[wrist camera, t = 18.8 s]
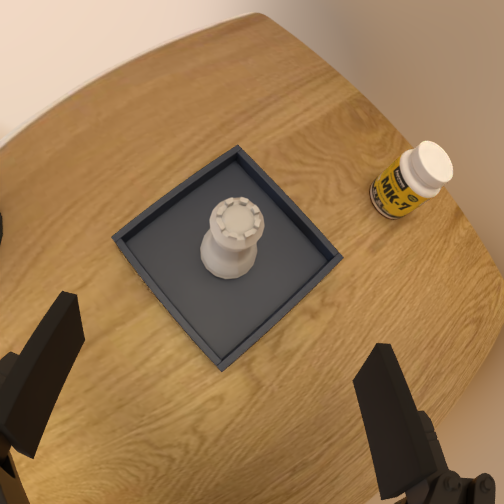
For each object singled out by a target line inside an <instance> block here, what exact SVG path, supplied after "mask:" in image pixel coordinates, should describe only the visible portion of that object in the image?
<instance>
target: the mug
mask: <svg viewBox="0 0 504 504" xmlns="http://www.w3.org/2000/svg"><path fill="white" fill-rule="evenodd" d="M2 234H3V233H2V216H1V213H0V243H1V239H2Z"/></svg>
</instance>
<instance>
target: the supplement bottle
mask: <svg viewBox="0 0 504 504" xmlns="http://www.w3.org/2000/svg"><path fill="white" fill-rule="evenodd" d="M452 176H453V167H452V163H451V161H450V159H449V157H448V155H447V154H446V152H445V151H444V150H443V149H442V148H441V147H440V146H439V145H437V144H436V143H434V142H431V141H423V142H421V143H420V144H419V145H418V146H417V147H415V148H414V149H410V150H407V151H405V152H404V153H403V154H402V155H401V156H400V157H398V158H397V159H396V160H395V161H394V162H393V163H392V164H391V165H390V166H389V167H388V168H387V169H386V170H385V171H384V172H383V173H381V174H380V175H379V176H378V177H377V178H376V179H375V180H374V181H373V183H372V185H371V189H370V195H371V199H372V202H373V204H374V206H375V207H376V209H377V210H378V211H379V212H380V213H381V214H383V215H384V216H386V217H388V218H391V219H398V218H401V217H403V216H405V215H406V214H408V213H409V212H411V211H413V210H414V209H416V208H417V207H419V206H420V205H422V204H424V203H425V202H427V201H428V200H430V199H431V198H433V197H434V196H436V195H437V194H438V193H439V191H440V189H441V187H442V186H444V185H445V184H446V183H447V182H449V181H450V180H451V178H452Z"/></svg>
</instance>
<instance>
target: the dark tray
mask: <svg viewBox="0 0 504 504" xmlns="http://www.w3.org/2000/svg"><path fill="white" fill-rule="evenodd" d="M241 197H243V198H247V199H249V201H251V202H252V203H253V204H254V205H256V206H257V207H258V208H259V210H260V212H261V213H262V215H263V219H264V230H263V233H262V236H261V237H260V239H259V240H258V241H257V242H256V244H257V255H256V258H255V262H254V265H253V266H252V267H251V268H250V270H249V271H248V272H247V273H246V274H244V275H242V276H240V277H238V278H232V279H224V278H221V277H217V276H215V275H213V274H212V273H211V272H210V271H209V270H207V269H206V267H205V265H204V263H203V261H202V260H201V251H200V247H201V244H202V241H203V238H204V235H205V234H206V233H207V232H208V230H209V229H210V217H211V214H212V211H213V209H214V208H215V207H216V206H217V205H218V204H219V203H220V202H222V201H224V200H226V199H229V198H241ZM111 238H112V239H113V240H114V242H115V243H116V245H117V246H118V247H119V249H120V250H121V251H122V253H123V254H124V255H125V257H126V258H127V259H128V261H129V262H130V263H131V265H132V266H133V267H134V269H135V270H136V271H137V273H138V274H139V275H140V277H141V278H142V279H143V280H144V282H145V283H146V284H147V286H148V287H149V288H150V289H151V291H152V292H153V293H154V294H155V296H156V297H157V298H158V299H159V301H160V302H161V303H162V304H163V305H164V307H165V308H166V309H167V310H168V312H169V313H170V314H171V315H172V316H173V318H174V319H175V320H176V321H177V322H178V323H179V325H180V326H181V327H182V328H183V329H184V330H185V332H186V333H187V334H188V335H189V336H190V337H191V339H192V340H193V341H194V342H195V343H196V344H197V345H198V347H199V348H200V349H201V350H202V351H203V352H204V353H205V354H206V355H207V357H208V358H209V359H210V360H211V361H212V362H213V363H214V364H215V365H216V366H217V368H218V369H219V370H220V371H221V372H223V371H224V370H225V369H226V368H227V367H228V366H230V365H231V364H232V363H233V362H234V361H235V360H236V359H238V358H239V357H240V356H241V355H242V354H243V353H244V352H245V351H247V350H248V349H249V348H250V347H251V346H252V345H253V344H254V343H256V342H257V341H258V340H259V339H260V338H261V337H262V336H263V335H264V334H265V333H267V332H268V331H269V330H270V329H271V328H272V327H273V326H274V325H275V324H276V323H277V322H278V321H279V320H281V319H282V318H283V317H284V316H285V315H286V314H287V313H288V312H289V311H290V310H291V309H292V308H293V307H294V306H295V305H296V304H297V303H298V302H300V301H301V300H302V299H303V298H304V297H305V296H306V295H307V294H308V293H309V292H310V291H311V290H312V289H313V288H314V287H315V286H316V285H317V284H318V283H319V282H320V281H321V280H322V279H323V278H324V277H325V276H326V275H327V274H328V273H329V272H330V271H331V270H332V269H333V268H334V267H335V266H336V265H337V264H338V263H339V262H340V261H341V260H342V259H343V258H344V257H343V256H342V255H341V254H340V253H338V251H337V249H336V248H335V247H334V246H333V245H332V244H331V243H330V241H329V240H328V239H327V238H326V237H325V236H324V235H323V234H322V233H321V231H320V230H319V229H318V228H317V227H316V226H315V225H314V224H313V223H312V222H311V220H310V219H309V218H308V217H307V216H306V215H305V214H304V213H303V212H302V211H301V210H300V208H299V207H298V206H297V205H296V204H295V203H294V202H293V201H292V200H291V199H290V198H289V197H288V196H287V195H286V194H285V192H284V191H283V190H282V189H281V188H280V187H279V186H278V185H277V184H276V183H275V182H274V181H273V180H272V179H271V178H270V177H269V176H268V175H267V174H266V173H265V172H264V171H263V170H262V169H261V168H260V167H259V166H258V165H257V163H256V162H255V161H254V160H253V159H252V158H251V157H250V156H249V155H248V154H247V153H246V152H245V151H244V150H242V148H241V147H240V146H239V145H236V146H235V147H233V148H232V149H230V150H229V151H227V152H226V153H224V154H223V155H221V156H220V157H218V158H217V159H215V160H214V161H212V162H211V163H209V164H208V165H206V166H205V167H204V168H202V169H201V170H199V171H198V172H196V173H195V174H193V175H192V176H191V177H189V178H188V179H186V180H185V181H184V182H182V183H181V184H179V185H178V186H177V187H175V188H174V189H173V190H171V191H170V192H168V193H167V194H166V195H164V196H163V197H162V198H160V199H159V200H158V201H156V202H155V203H154V204H152V205H151V206H150V207H148V208H147V209H146V210H144V211H143V212H142V213H141V214H139V215H138V216H137V217H135V218H134V219H133V220H132V221H130V222H129V223H128V224H127V225H125V226H124V227H123V228H122V229H120V230H119V231H118V232H117V233H115V234H114V235H113V236H112V237H111Z"/></svg>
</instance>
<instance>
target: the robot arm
mask: <svg viewBox="0 0 504 504" xmlns="http://www.w3.org/2000/svg"><path fill="white" fill-rule="evenodd" d="M84 341H85V337H84V332H83V327H82V322H81V316H80V310H79V305H78V298H77V295H76V294H72V293H68V292H64V291H62V292H61V293H60V294H59V296H58V297H57V299H56V300H55V301H54V303H53V304H52V306H51V307H50V309H49V310H48V312H47V313H46V315H45V316H44V317H43V319H42V320H41V322H40V323H39V325H38V326H37V328H36V330H35V331H34V333H33V334H32V336H31V337H30V339H29V340H28V342H27V344H26V345H25V347H24V348H23V350H22V352H21V353H20V355H18V354H15V353H13V352H9V353H8V354H7V355H5V356H4V357H3V358H2V359H1V360H0V504H30V503H29V500H28V498H27V496H26V493H25V491H24V488H23V486H22V483H21V481H20V478H19V475H18V473H17V470H16V467H15V464H14V461H13V458H12V455H11V453H10V451H9V450H10V448H11V445H12V446H13V447H14V449H15V450H16V451H17V452H19V453H21V454H23V455H26V456H28V457H30V458H32V459H34V456H35V453H36V451H37V448H38V445H39V443H40V440H41V437H42V435H43V432H44V430H45V427H46V425H47V422H48V420H49V417H50V415H51V412H52V410H53V408H54V405H55V403H56V401H57V398H58V396H59V394H60V392H61V389H62V387H63V385H64V383H65V381H66V378H67V376H68V374H69V372H70V370H71V368H72V366H73V363H74V361H75V359H76V357H77V355H78V353H79V351H80V349H81V347H82V345H83V343H84ZM353 384H354V388H355V392H356V395H357V399H358V403H359V407H360V410H361V414H362V418H363V422H364V426H365V430H366V434H367V438H368V442H369V447H370V451H371V455H372V460H373V464H374V468H375V473H376V477H377V482H378V487H379V492H380V496H381V500H385V499H390V498H394V497H397V496H399V495H401V494H402V493H404V492H405V494H406V497H405V498H403V499H401V500H399V501H398V502H396V503H395V504H495V481H494V479H493V478H492V477H491V476H490V475H489V474H487V473H483V474H481V475H479V476H478V477H476V478H475V479H471V478H460V476H459V475H458V474H457V473H456V472H454V471H451V470H449V469H448V467H447V464H446V461H445V458H444V455H443V452H442V449H441V446H440V443H439V441H438V440H437V435H436V432H434V427H433V424H432V422H431V419H430V418H429V417H428V415H427V414H426V413H425V412H424V411H417V408H416V406H415V403H414V400H413V398H412V395H411V393H410V390H409V388H408V385H407V383H406V380H405V378H404V375H403V373H402V370H401V368H400V365H399V363H398V361H397V358H396V356H395V354H394V351H393V349H392V347H391V344H383V343H376V345H375V347H374V348H373V350H372V352H371V353H370V355H369V356H368V358H367V359H366V361H365V363H364V364H363V366H362V367H361V369H360V370H359V372H358V373H357V375H356V376H355V378H354V379H353Z"/></svg>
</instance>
